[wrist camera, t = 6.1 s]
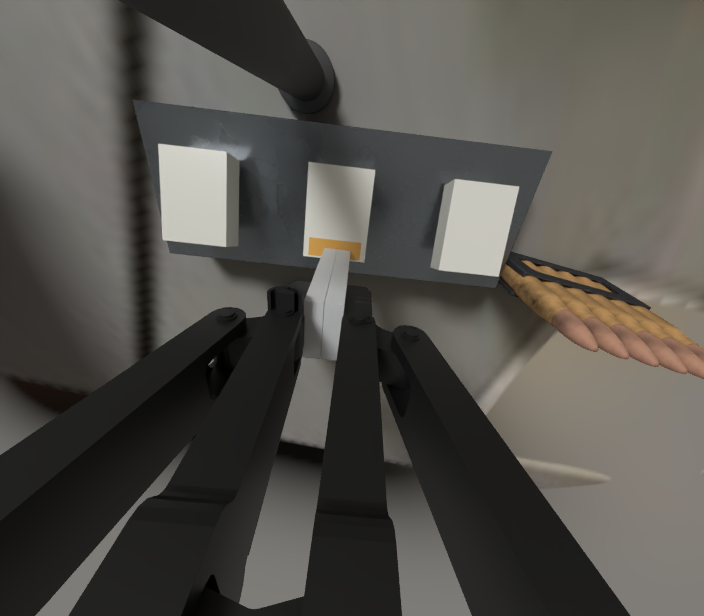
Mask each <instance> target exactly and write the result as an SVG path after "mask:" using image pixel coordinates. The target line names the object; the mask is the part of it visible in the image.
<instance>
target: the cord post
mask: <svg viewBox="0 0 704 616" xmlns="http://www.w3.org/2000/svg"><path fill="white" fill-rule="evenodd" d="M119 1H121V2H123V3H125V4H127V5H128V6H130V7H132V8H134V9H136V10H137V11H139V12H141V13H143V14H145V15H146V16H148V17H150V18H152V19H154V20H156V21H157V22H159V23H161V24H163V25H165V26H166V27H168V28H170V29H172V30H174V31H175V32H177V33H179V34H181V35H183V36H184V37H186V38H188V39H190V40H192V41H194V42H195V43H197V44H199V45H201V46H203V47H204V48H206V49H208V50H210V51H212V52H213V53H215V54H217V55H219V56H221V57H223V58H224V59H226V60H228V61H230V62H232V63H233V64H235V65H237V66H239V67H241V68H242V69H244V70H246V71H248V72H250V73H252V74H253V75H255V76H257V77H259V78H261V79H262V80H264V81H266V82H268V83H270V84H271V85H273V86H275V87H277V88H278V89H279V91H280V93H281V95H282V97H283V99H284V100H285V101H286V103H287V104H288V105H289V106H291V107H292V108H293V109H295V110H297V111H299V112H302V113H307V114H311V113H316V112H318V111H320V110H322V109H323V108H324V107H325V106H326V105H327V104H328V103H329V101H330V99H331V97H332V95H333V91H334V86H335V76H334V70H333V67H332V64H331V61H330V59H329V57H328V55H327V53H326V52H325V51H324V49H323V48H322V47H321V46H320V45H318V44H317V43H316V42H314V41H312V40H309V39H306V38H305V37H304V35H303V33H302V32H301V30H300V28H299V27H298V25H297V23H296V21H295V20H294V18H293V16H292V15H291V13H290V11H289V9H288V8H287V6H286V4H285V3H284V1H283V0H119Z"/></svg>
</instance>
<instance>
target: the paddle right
mask: <svg viewBox="0 0 704 616" xmlns="http://www.w3.org/2000/svg"><path fill="white" fill-rule="evenodd" d="M518 191H519V187H518V186H510V185H502V184H493V183H485V182H476V181H468V180H460V179H454V180H452V181H451V182H449V183H447V184H446V185H444V191H443V197H442V202H441V208H440V214H439V220H438V226H437V232H436V237H435V243H434V249H433V255H432V261H431V266H430V267H431V268H434V269H437V270H442V271H451V272H460V273H469V274H478V275H487V276H497V277H499V273H500V269H501V264H502V260H503V256H504V251H505V247H506V243H507V238H508V234H509V230H510V225H511V221H512V217H513V212H514V208H515V204H516V199H517V195H518Z"/></svg>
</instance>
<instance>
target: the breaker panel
mask: <svg viewBox="0 0 704 616" xmlns="http://www.w3.org/2000/svg"><path fill="white" fill-rule="evenodd" d="M133 104H134V108H135V112H136V116H137V120H138V124H139V128H140V132H141V136H142V140H143V144H144V149H145V153H146V157H147V161H148V165H149V169H150V173H151V177H152V181H153V185H154V189H155V194H156V198H157V202H158V206H159V210H160V214H161V193H160V172H159V151H158V144H166V145H174V146H183V147H191V148H199V149H208V150H216V151H225V152H228V153H229V154H231V155H232V156H233V157H235V158H236V159H238V160H239V233H238V246H235V247H222V246H212V245H203V244H194V243H185V242H176V241H167V243H168V247H169V251H170V253H174V254H184V255H193V256H202V257H211V258H221V259H230V260H239V261H248V262H258V263H267V264H276V265H286V266H295V267H304V268H313V269H317V266H318V263H319V261H320V258H317V257H308V256H303V248H304V231H305V214H306V197H307V181H308V164H309V162H314V163H322V164H331V165H339V166H347V167H356V168H364V169H373V170H375V177H374V186H373V194H372V202H371V211H370V219H369V227H368V236H367V244H366V252H365V261H364V263H363V262H354V261H349V270H348V272H350V273H360V274H369V275H378V276H388V277H397V278H406V279H415V280H425V281H434V282H443V283H453V284H462V285H471V286H480V287H490V288H496V285H497V283H498V281H499V278H500V276H501V273H502V271H503V269H504V266H505V264H506V261H507V259H508V257H509V254H510V252H511V249H512V247H513V245H514V242H515V240H516V237H517V235H518V233H519V230H520V228H521V226H522V223H523V221H524V218H525V216H526V214H527V211H528V209H529V206H530V204H531V202H532V199H533V197H534V194H535V192H536V190H537V187H538V185H539V182H540V180H541V178H542V175H543V173H544V170H545V168H546V166H547V163H548V161H549V158H550V156H551V154H552V151H545V150H536V149H528V148H520V147H512V146H504V145H496V144H488V143H480V142H472V141H464V140H455V139H447V138H439V137H431V136H423V135H415V134H407V133H399V132H391V131H383V130H374V129H366V128H358V127H350V126H342V125H334V124H326V123H318V122H310V121H301V120H293V119H285V118H277V117H269V116H261V115H253V114H245V113H237V112H229V111H220V110H212V109H204V108H196V107H188V106H180V105H172V104H164V103H156V102H148V101H139V100H133ZM454 179H460V180H468V181H476V182H485V183H493V184H502V185H510V186H518V187H519V191H518V195H517V199H516V204H515V208H514V212H513V217H512V221H511V225H510V230H509V234H508V238H507V243H506V247H505V251H504V256H503V260H502V264H501V269H500V273H499V277H497V276H487V275H478V274H469V273H460V272H451V271H442V270H437V269H434V268H431V267H430V266H431V261H432V255H433V249H434V243H435V237H436V232H437V226H438V220H439V214H440V208H441V202H442V197H443V191H444V185H446V184H447V183H449V182H451V181H452V180H454ZM161 218H162V214H161Z"/></svg>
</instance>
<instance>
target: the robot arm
mask: <svg viewBox="0 0 704 616" xmlns="http://www.w3.org/2000/svg"><path fill="white" fill-rule="evenodd" d="M350 252H351V251H348V250H339V249H338V250H337V249H331V248H324V250H323V253H322V256H321V258H320V261H319V263H318V266H317V269H316V271H315V274H314V276H313V279H312V282H305V281H294V282H292V283H291V284H289V285H288V286H276V287H273V288H271V289H269V290H268V291H267V300H268V311H267V313H266V315H265V316H262V317H256V318H246V313H245V312H244V311H243V310H241V309H238V308H232V307H228V308H227V307H225V308H221V309H217V310H215V311H213V312H211V313H209V314H208V315H207V316H205V317H204V318H202V319H201V320H199V321H198V322H196V323H195V324H193V325H192V326H190V327H189V328H187V329H186V330H184V331H183V332H181V333H180V334H178V335H177V336H176V337H174V338H173V339H171V340H170V341H168V342H167V343H165V344H164V345H162V346H161V347H159V348H158V349H156V350H155V351H153V352H152V353H150V354H149V355H147V356H146V357H145V358H143V359H142V360H140V361H139V362H137V363H136V364H134V365H133V366H131V367H130V368H128V369H127V370H125V371H124V372H122V373H121V374H119V375H118V376H117V377H115V378H114V379H112V380H111V381H109V382H108V383H106V384H105V385H103V386H102V387H100V388H99V389H97V390H96V391H94V392H93V393H91V394H90V395H88V396H87V397H86V398H84V399H83V400H81V401H80V402H78V403H77V404H75V405H74V406H72V407H71V408H69V409H68V410H67V411H65V412H64V413H62V414H60V415H59V416H57V417H56V418H55V419H53V420H52V421H50V422H49V423H47V424H46V425H44V426H43V427H41V428H40V429H38V430H37V431H36V432H34V433H32V434H31V435H30V436H28V437H26V438H25V439H24V440H22V441H21V442H19V443H18V444H16V445H15V446H13V447H12V448H10V449H9V450H8V451H6V452H4V453H3V454H1V455H0V616H35V615H36V614H37V613H38V612H39V611H40V609H41V608H42V607H43V606H44V605H45V604H46V603H47V602H48V601H49V600H50V599H51V598H52V596H53V595H54V594H55V593H56V592H57V591H58V590H59V588H60V587H61V586H62V585H63V584H64V583H65V582H66V581H67V579H68V578H69V577H70V576H71V575H72V573H74V571H75V570H76V569H77V568H78V567H79V566H80V565H81V563H82V562H83V561H84V560H85V559H86V558H87V557H88V556H89V554H90V553H91V552H92V551H93V550H94V549H95V548H96V546H97V545H98V544H99V543H100V542H101V541H102V540H103V539H104V537H105V536H106V535H107V534H108V533H109V532H110V531H111V530H112V528H113V527H114V526H115V525H116V524H117V523H118V522H119V520H120V519H121V518H122V517H123V516H124V515H125V514H126V513H127V511H128V510H129V509H130V508H131V507H132V506H133V505H134V503H135V502H136V501H137V500H138V499H139V498H140V497H141V496H142V494H143V493H144V492H145V491H146V490H147V489H148V488H149V486H150V485H151V484H152V483H153V482H154V481H155V480H156V478H157V477H158V476H159V475H160V474H161V473H162V472H163V471H164V469H165V468H166V467H167V466H168V465H169V464H170V463H171V462H172V460H173V459H174V458H175V457H176V456H177V455H178V454H179V452H180V451H181V450H182V449H183V448H184V447H185V446H186V444H187V443H188V442H189V441H190V440H191V439H192V438H193V437H194V435H195V434H196V433H197V432H198V433H197V435H196V436H195V438H194V440H193V442H192V443H191V445H190V447H189V449H188V450H187V452H186V454H185V456H184V457H183V459H182V461H181V463H180V464H179V466H178V468H177V470H176V471H175V473H174V475H173V477H172V478H171V480H170V482H169V483H168V485H167V487H166V488H165V489H164V491H163V492H162V493H160V494H159V495H157V496H154V497H150V498H147V499H146V500H145V501H144V502H143V503H142V504H140V505H139V506H138V508H137V509H136V510H135V512H134V513H133V515H132V516H131V517H130V519H129V520H128V521H127V523H126V525H125V526H124V528H123V529H122V531H121V533H120V534H119V536H118V537H117V539H116V541H115V542H114V544H113V546H112V547H111V549H110V550H109V552H108V553H107V555H106V557H105V558H104V560H103V561H102V563H101V565H100V566H99V568H98V570H97V571H96V573H95V574H94V576H93V578H92V579H91V581H90V582H89V584H88V585H87V587H86V589H85V590H84V592H83V593H82V595H81V597H80V598H79V600H78V601H77V603H76V605H75V606H74V608H73V609H72V611H71V613H70V614H69V616H402V610H401V599H400V585H399V572H398V560H397V548H396V539H395V529H394V525H393V521H392V519H391V518H390V517H389V516H388V512H387V500H386V485H385V469H384V452H383V436H382V420H381V403H380V387H379V381H380V382H382V387H383V390H384V393H385V395H386V398H387V400H388V403H389V405H390V408H391V410H392V413H393V416H394V418H395V421H396V423H397V426H398V428H399V431H400V433H401V436H402V439H403V441H404V444H405V446H406V449H407V451H408V454H409V456H410V459H411V461H412V464H413V467H414V469H415V472H416V474H417V477H418V479H419V482H420V484H421V487H422V490H423V492H424V494H425V497H426V500H427V502H428V505H429V507H430V510H431V512H432V515H433V517H434V520H435V523H436V525H437V528H438V530H439V533H440V535H441V538H442V540H443V543H444V545H445V548H446V551H447V553H448V556H449V558H450V561H451V563H452V566H453V568H454V571H455V574H456V576H457V579H458V581H459V584H460V586H461V589H462V592H463V594H464V597H465V599H466V602H467V604H468V607H469V609H470V612H471V614H472V616H630V615H629V613H628V612H627V610H626V609H625V608H624V606H623V605H622V604H621V602H620V601H619V599H618V598H617V597H616V595H615V594H614V593H613V591H612V590H611V588H610V587H609V586H608V584H607V583H606V581H605V580H604V579H603V578H602V576H601V574H600V573H599V572H598V570H597V569H596V568H595V566H594V565H593V563H592V562H591V561H590V559H589V558H588V557H587V555H586V554H585V552H583V550H582V548H581V547H580V545H579V544H578V543H577V541H576V540H575V539H574V537H573V536H572V534H571V533H570V532H569V530H568V529H567V528H566V526H565V525H564V523H563V522H562V521H561V519H560V518H559V516H558V515H557V514H556V512H555V511H554V510H553V508H552V507H551V506H550V504H549V503H548V501H547V500H546V499H545V497H544V496H543V494H542V493H541V492H540V490H539V489H538V487H537V486H536V485H535V483H534V482H533V481H532V479H531V478H530V476H529V475H528V474H527V472H526V471H525V470H524V468H523V467H522V465H521V464H520V463H519V461H518V460H517V458H516V457H515V456H514V454H513V453H512V452H511V450H510V449H509V447H508V446H507V445H506V443H505V442H504V441H503V439H502V438H501V437H500V435H499V434H498V432H497V431H496V429H495V428H494V427H493V425H492V424H491V423H490V421H489V420H488V418H487V417H486V416H485V414H484V413H483V412H482V410H481V409H480V407H479V406H478V405H477V403H476V402H475V400H474V399H473V398H472V396H471V395H470V394H469V392H468V391H467V389H466V388H465V387H464V385H463V384H462V382H461V381H460V380H459V378H458V377H457V376H456V374H455V373H454V371H453V370H452V369H451V367H450V366H449V365H448V363H447V362H446V360H445V359H444V358H443V356H442V355H441V353H440V352H439V351H438V349H437V348H436V347H435V345H434V344H433V342H432V341H431V340H430V338H429V337H428V336H427V334H426V333H425V332H424V331H422V330H420V329H418V328H417V327H413V326H406V325H404V326H398V327H397V328H395V329H394V331H393V332H389V331H386V330H384V329H381V328H380V327H378V326H377V325H376V323H375V319H374V318H373V317H372V305H371V292H370V291H369V290H368V289H367V288H365V287H356V286H347V280H348V270H349V261H350ZM302 350H303V357H306V358H316V359H320V358H321V359H325V360H334V361H336V368H335V375H334V383H333V390H332V398H331V405H330V413H329V421H328V428H327V436H326V443H325V451H324V458H323V466H322V473H321V481H320V488H319V496H318V503H317V509H316V514H315V522H314V528H313V535H312V543H311V550H310V557H309V565H308V572H307V580H306V587H305V594H304V597H300V598H296V599H293V600H289V601H285V602H282V603H278V604H274V605H271V606H267V607H263V608H260V609H249V608H246V607H244V606H243V605H240V604H239V601H240V596H241V592H242V587H243V581H244V573H245V565H246V560H247V556H248V552H249V548H250V545H251V541H252V538H253V534H254V530H255V527H256V523H257V520H258V516H259V512H260V509H261V505H262V502H263V498H264V495H265V491H266V487H267V484H268V480H269V477H270V473H271V469H272V466H273V462H274V459H275V455H276V451H277V447H278V444H279V441H280V437H281V434H282V430H283V426H284V423H285V419H286V416H287V412H288V408H289V405H290V401H291V398H292V394H293V391H294V387H295V383H296V380H297V376H298V373H299V369H300V365H301V353H302ZM212 359H214V362H213V363H211V364H210V365H208V364H209V363H210V362H211V360H212Z"/></svg>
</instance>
